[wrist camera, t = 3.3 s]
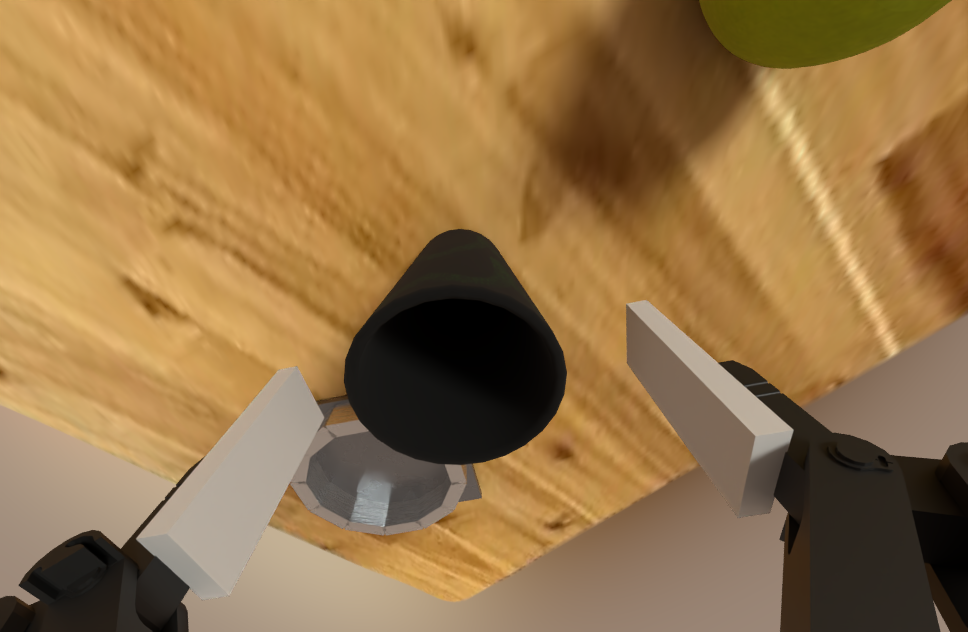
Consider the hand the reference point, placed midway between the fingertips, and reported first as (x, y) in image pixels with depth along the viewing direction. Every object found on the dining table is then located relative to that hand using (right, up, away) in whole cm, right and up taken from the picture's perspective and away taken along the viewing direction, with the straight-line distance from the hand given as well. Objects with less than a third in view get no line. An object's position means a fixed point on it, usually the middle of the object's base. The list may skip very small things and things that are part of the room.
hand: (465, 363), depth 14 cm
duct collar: (-8, -10, +16) cm, 21 cm away
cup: (-1, +5, +9) cm, 10 cm away
